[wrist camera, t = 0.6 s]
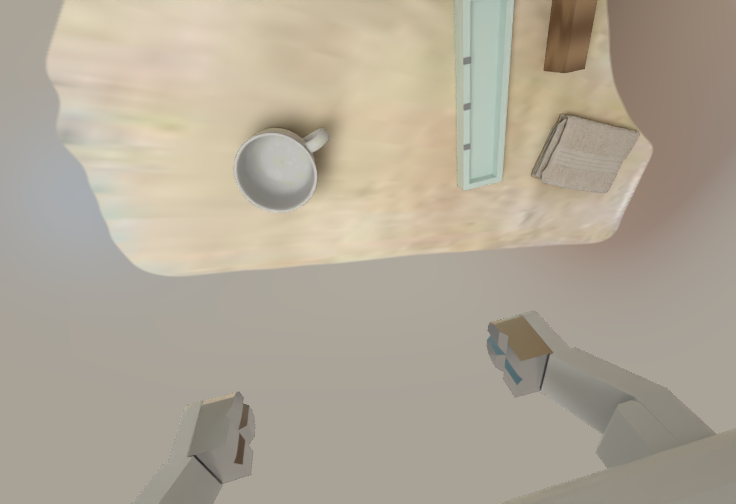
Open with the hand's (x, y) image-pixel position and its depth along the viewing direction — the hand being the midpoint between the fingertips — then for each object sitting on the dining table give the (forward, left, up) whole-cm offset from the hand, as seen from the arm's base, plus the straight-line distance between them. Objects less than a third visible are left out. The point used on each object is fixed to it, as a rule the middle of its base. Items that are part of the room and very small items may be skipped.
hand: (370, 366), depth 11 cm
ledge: (+3, +26, -45) cm, 52 cm away
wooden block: (-4, +38, -45) cm, 59 cm away
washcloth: (+17, +46, -45) cm, 67 cm away
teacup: (+5, -5, -45) cm, 45 cm away
